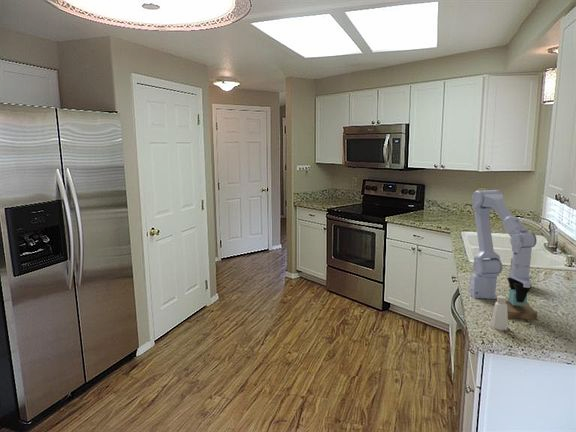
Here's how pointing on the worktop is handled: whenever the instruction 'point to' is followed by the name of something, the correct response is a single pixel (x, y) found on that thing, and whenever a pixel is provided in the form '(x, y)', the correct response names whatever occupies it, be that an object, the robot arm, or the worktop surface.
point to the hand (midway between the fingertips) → (517, 299)
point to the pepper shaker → (500, 314)
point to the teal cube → (513, 298)
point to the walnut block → (520, 311)
